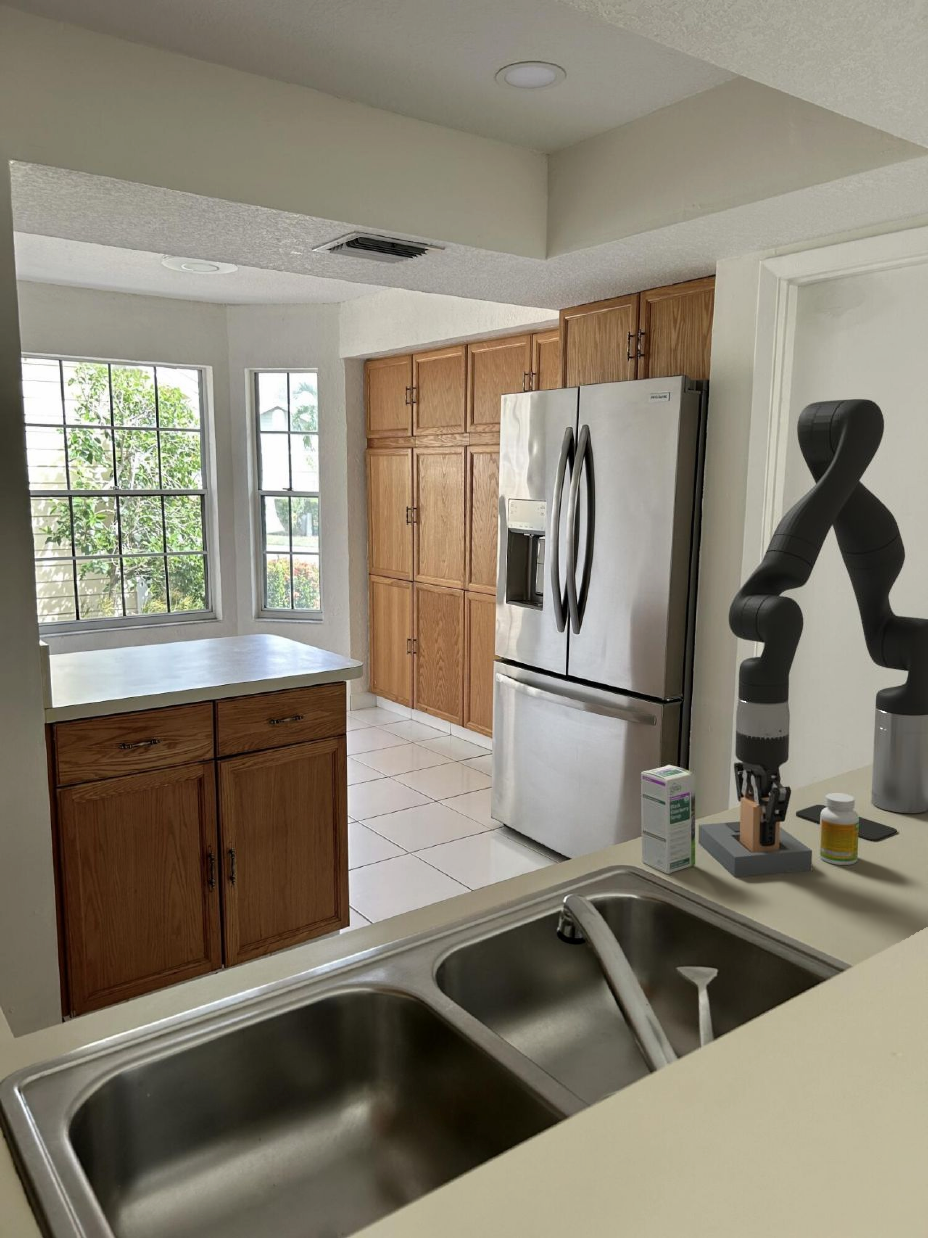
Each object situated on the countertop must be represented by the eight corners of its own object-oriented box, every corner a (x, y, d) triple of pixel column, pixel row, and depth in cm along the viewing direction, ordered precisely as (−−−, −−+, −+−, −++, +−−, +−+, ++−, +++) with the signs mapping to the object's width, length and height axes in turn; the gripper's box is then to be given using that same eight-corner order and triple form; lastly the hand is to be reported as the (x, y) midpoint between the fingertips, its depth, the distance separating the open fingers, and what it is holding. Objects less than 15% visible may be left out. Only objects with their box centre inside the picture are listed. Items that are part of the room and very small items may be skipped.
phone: (873, 840, 144) (792, 812, 156) (873, 845, 144) (792, 817, 156) (900, 830, 148) (819, 803, 160) (900, 834, 148) (819, 808, 160)
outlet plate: (769, 837, 147) (769, 818, 146) (811, 870, 134) (812, 849, 134) (698, 842, 145) (698, 823, 145) (734, 876, 132) (734, 855, 132)
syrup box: (667, 875, 133) (669, 779, 131) (639, 861, 138) (640, 769, 136) (695, 866, 136) (697, 772, 134) (667, 853, 141) (668, 762, 139)
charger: (765, 839, 140) (766, 795, 139) (778, 850, 136) (780, 804, 135) (739, 841, 139) (740, 797, 138) (752, 852, 135) (753, 806, 134)
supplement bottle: (860, 867, 135) (863, 804, 133) (822, 865, 136) (824, 802, 134) (853, 852, 140) (855, 792, 139) (816, 850, 141) (818, 790, 140)
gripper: (811, 740, 128) (807, 856, 131) (763, 715, 142) (760, 820, 145) (761, 743, 127) (758, 860, 130) (717, 718, 141) (716, 824, 144)
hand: (759, 838), depth 137 cm, fingers closed on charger, 4 cm apart
